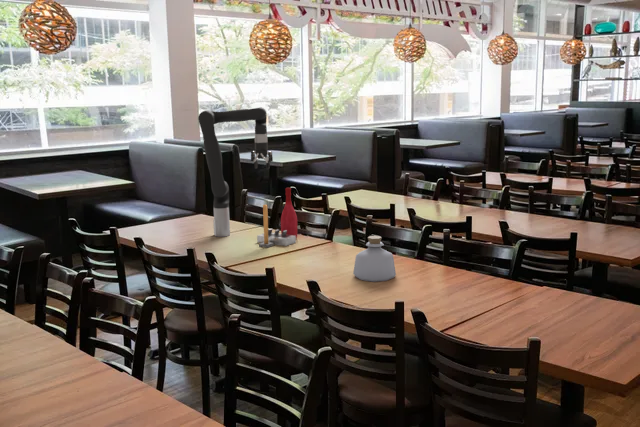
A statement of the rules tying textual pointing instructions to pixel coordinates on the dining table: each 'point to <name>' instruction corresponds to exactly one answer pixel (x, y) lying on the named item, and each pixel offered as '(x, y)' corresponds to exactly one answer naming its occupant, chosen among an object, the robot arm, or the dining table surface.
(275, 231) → the middle paddle
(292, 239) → the breaker panel
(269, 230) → the paddle
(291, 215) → the wine bottle
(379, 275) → the bottle
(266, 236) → the orange post
